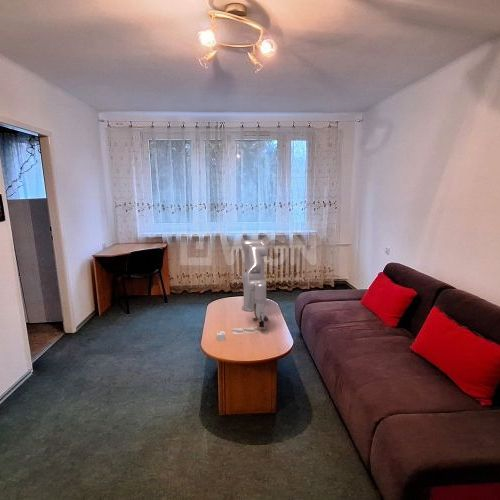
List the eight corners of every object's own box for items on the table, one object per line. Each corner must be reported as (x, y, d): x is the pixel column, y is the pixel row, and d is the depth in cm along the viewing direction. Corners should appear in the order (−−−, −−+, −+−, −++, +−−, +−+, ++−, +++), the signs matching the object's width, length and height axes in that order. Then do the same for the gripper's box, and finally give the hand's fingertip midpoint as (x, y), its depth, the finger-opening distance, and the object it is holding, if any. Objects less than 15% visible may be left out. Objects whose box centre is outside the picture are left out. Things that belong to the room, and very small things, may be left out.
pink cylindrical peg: (256, 328, 226) (257, 313, 224) (263, 327, 227) (263, 312, 224) (257, 331, 222) (257, 315, 219) (264, 330, 223) (264, 315, 220)
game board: (230, 329, 227) (230, 328, 227) (265, 326, 231) (265, 325, 231) (231, 336, 217) (231, 335, 216) (268, 333, 220) (268, 332, 220)
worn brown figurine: (253, 325, 239) (248, 303, 235) (253, 322, 244) (248, 300, 240) (269, 321, 240) (264, 299, 235) (268, 318, 245) (263, 297, 241)
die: (217, 338, 213) (216, 331, 212) (224, 338, 214) (224, 331, 213) (217, 342, 209) (217, 335, 208) (225, 341, 209) (224, 334, 208)
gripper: (253, 296, 228) (253, 319, 232) (257, 305, 211) (257, 329, 215) (263, 296, 229) (263, 318, 233) (268, 304, 212) (268, 329, 216)
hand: (260, 323), depth 224 cm, fingers open, 9 cm apart
